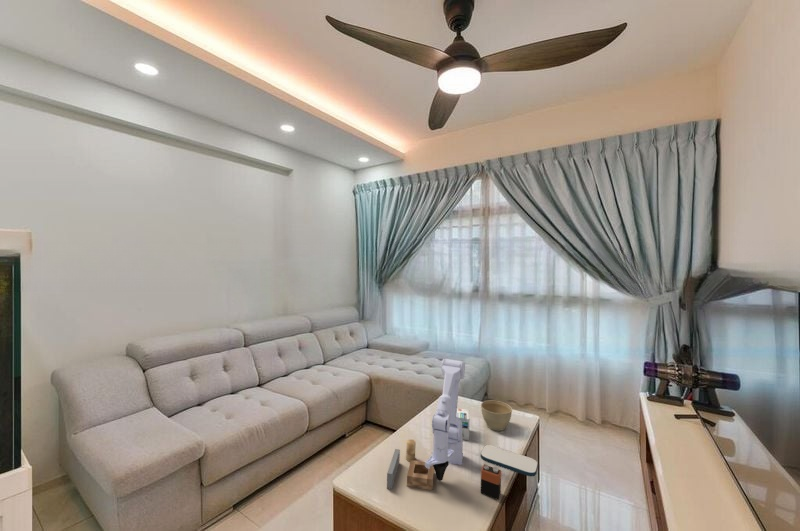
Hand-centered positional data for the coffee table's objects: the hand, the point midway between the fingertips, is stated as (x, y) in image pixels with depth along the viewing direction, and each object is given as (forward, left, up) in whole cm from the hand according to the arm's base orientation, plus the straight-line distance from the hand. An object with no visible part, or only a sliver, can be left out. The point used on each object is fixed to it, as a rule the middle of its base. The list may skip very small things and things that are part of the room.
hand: (439, 479), depth 124 cm
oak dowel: (+13, -12, -2) cm, 18 cm away
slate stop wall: (+19, 0, -2) cm, 19 cm away
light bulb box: (-10, -39, -2) cm, 40 cm away
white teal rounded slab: (-30, -21, -2) cm, 36 cm away
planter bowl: (-28, -51, -2) cm, 58 cm away
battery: (-20, +1, -2) cm, 20 cm away
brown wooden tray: (+7, 0, -1) cm, 7 cm away
